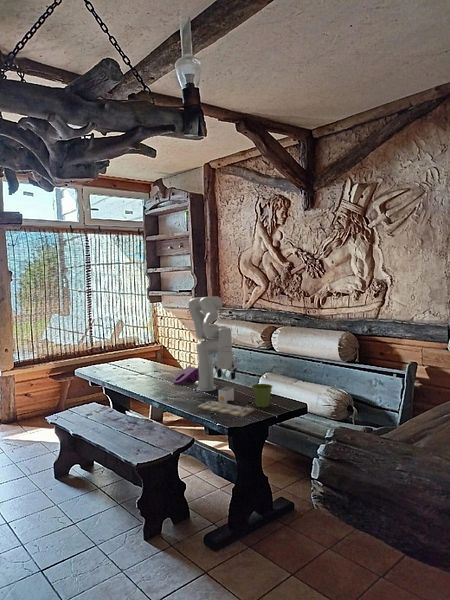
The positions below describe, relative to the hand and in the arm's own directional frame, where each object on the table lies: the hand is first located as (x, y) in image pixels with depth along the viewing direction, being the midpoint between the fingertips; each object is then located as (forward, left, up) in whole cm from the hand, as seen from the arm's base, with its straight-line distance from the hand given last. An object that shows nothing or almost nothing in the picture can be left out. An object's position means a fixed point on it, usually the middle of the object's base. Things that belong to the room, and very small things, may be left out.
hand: (226, 378), depth 265 cm
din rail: (+7, -12, -14) cm, 20 cm away
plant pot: (+21, +4, -14) cm, 26 cm away
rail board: (+7, -12, -14) cm, 20 cm away
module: (-1, 0, -14) cm, 14 cm away
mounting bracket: (-51, +23, -15) cm, 58 cm away
